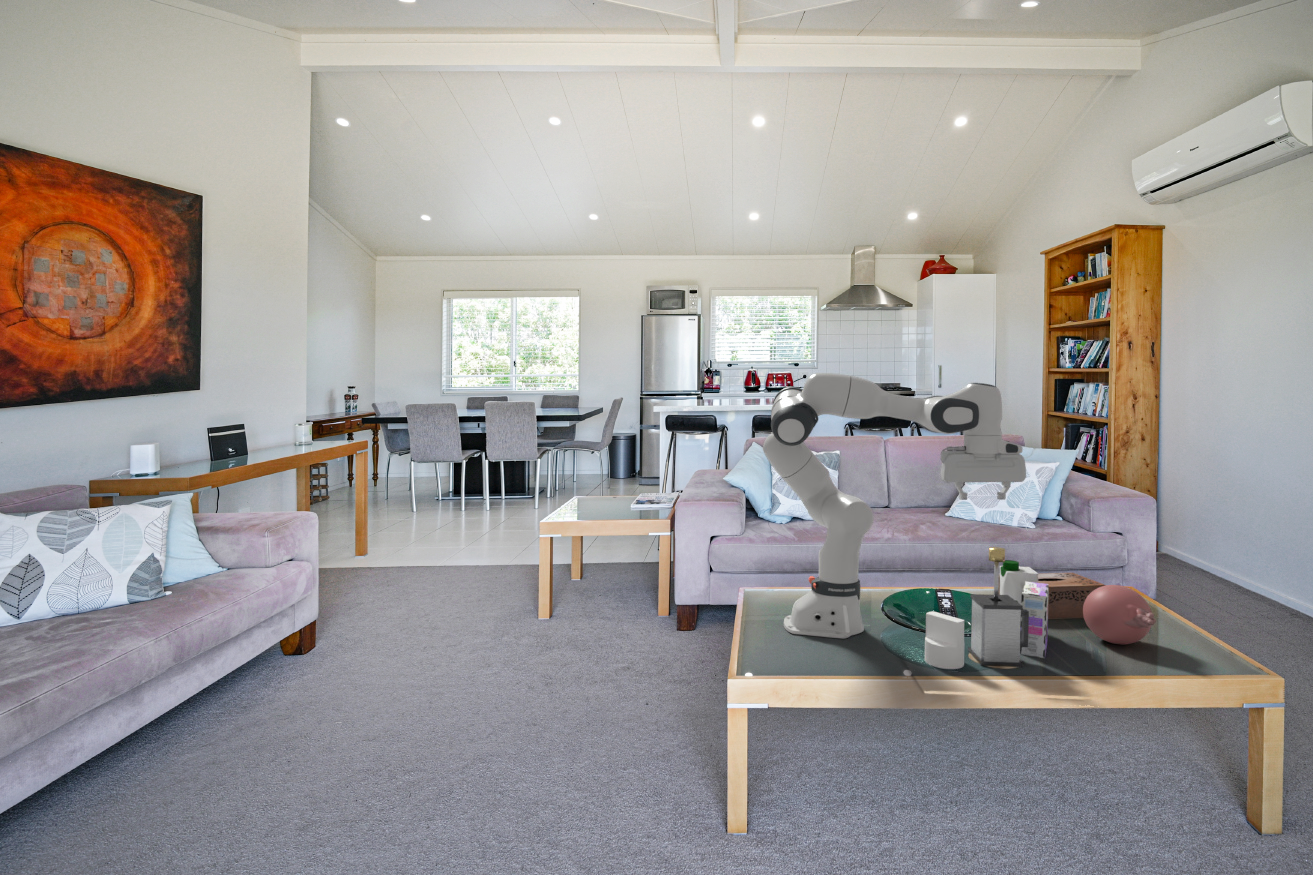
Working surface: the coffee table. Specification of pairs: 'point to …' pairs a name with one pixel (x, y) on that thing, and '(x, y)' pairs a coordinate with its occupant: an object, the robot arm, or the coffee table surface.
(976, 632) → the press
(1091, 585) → the tissue box cover
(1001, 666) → the trivet
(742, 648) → the coffee table surface
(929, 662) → the cylinder with rectangular tab
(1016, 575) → the milk carton
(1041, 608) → the candy box
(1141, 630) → the pink oval ball
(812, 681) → the coffee table surface
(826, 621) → the robot arm
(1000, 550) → the plunger
